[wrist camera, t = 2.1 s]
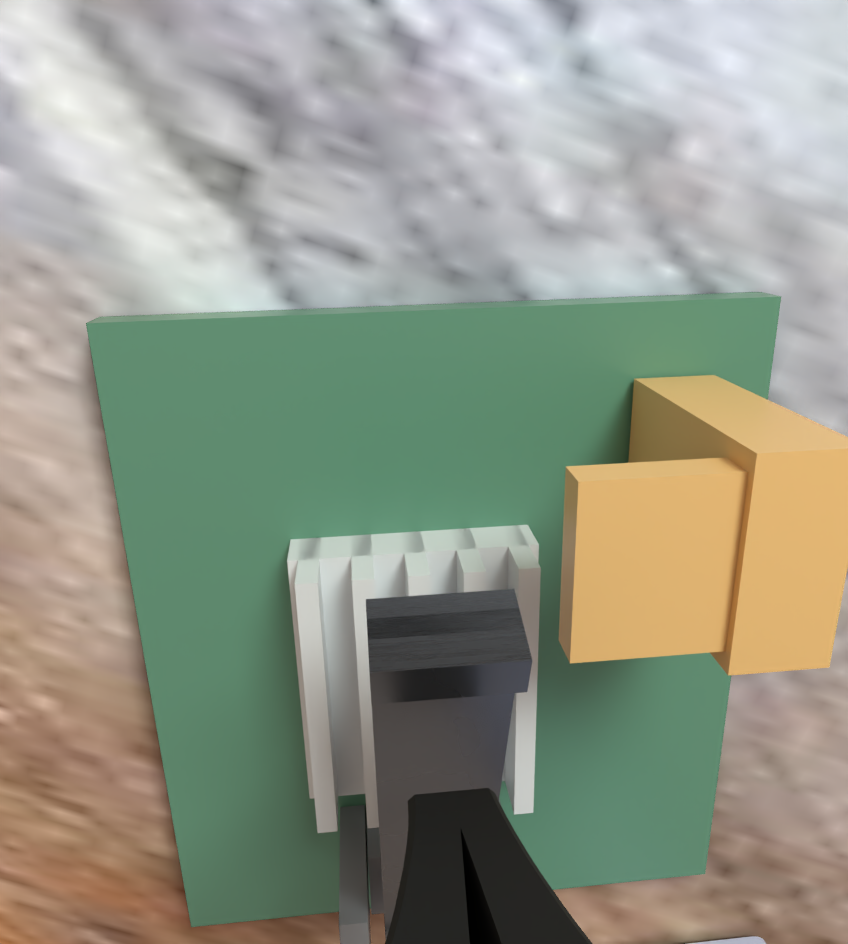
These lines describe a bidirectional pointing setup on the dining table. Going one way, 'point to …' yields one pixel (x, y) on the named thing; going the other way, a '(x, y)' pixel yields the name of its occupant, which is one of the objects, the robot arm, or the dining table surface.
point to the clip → (708, 534)
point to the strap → (439, 703)
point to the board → (395, 574)
